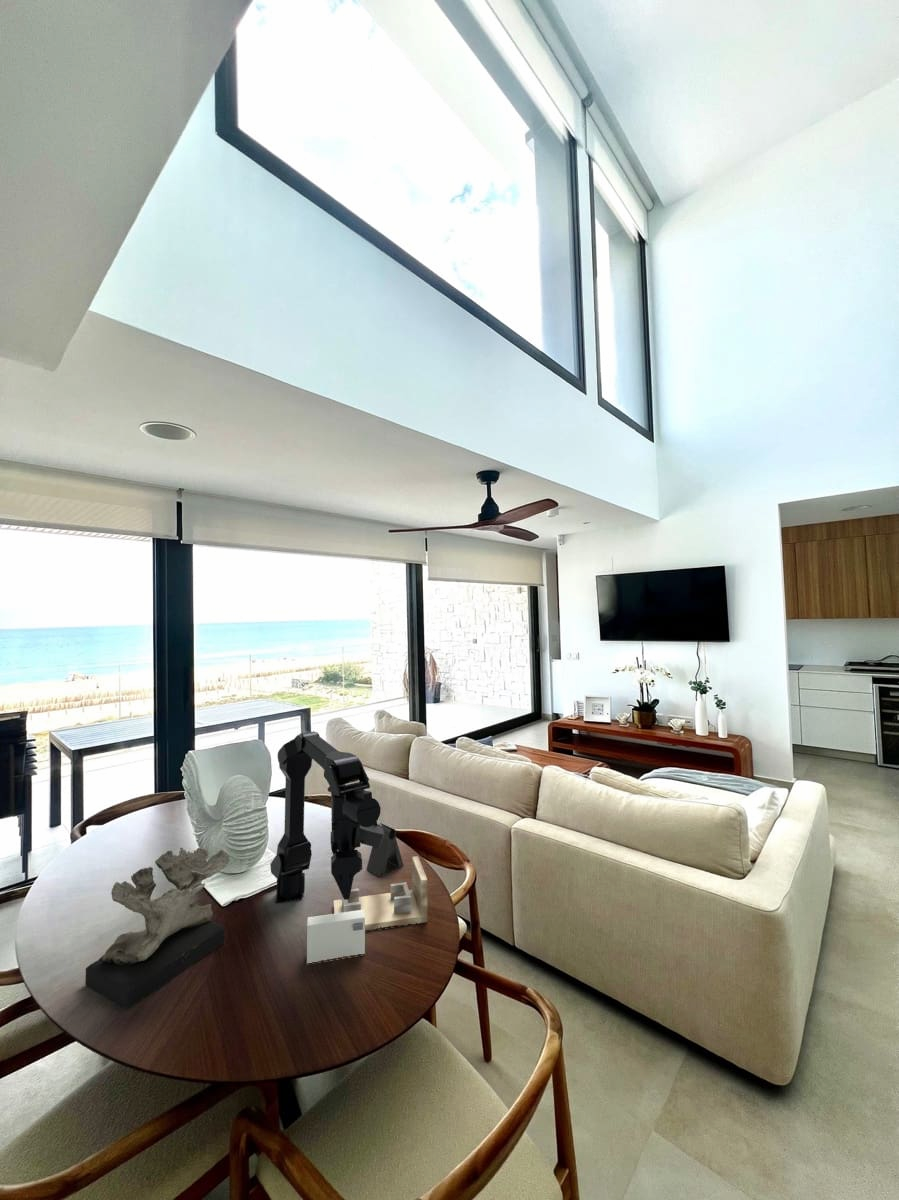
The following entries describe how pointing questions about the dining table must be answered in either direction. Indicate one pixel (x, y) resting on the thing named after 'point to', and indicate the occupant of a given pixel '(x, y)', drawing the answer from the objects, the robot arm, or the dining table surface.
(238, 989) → the dining table surface
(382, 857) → the door stopper
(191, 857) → the coral
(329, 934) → the door
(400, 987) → the dining table surface
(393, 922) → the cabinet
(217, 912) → the dining table surface
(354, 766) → the robot arm
